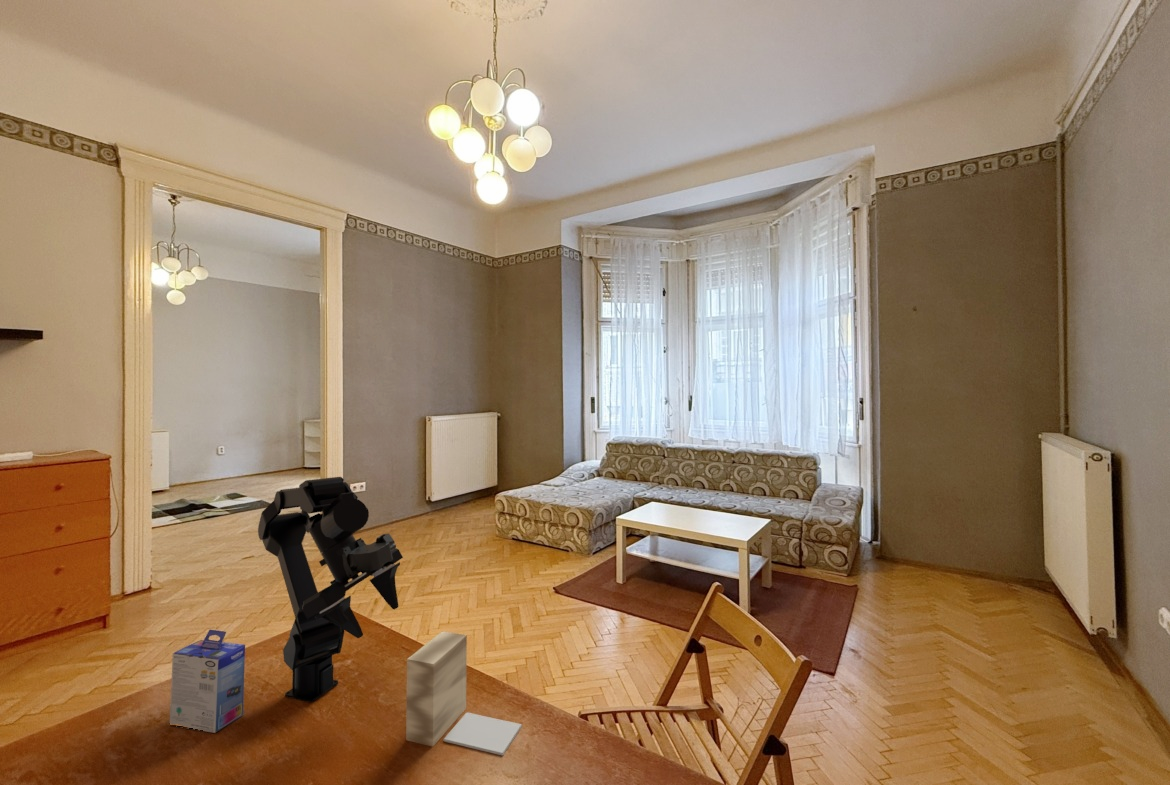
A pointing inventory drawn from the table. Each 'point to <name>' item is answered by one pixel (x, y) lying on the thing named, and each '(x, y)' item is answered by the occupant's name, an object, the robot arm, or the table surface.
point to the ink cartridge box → (207, 684)
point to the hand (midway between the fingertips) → (379, 621)
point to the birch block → (436, 687)
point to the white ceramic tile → (483, 733)
